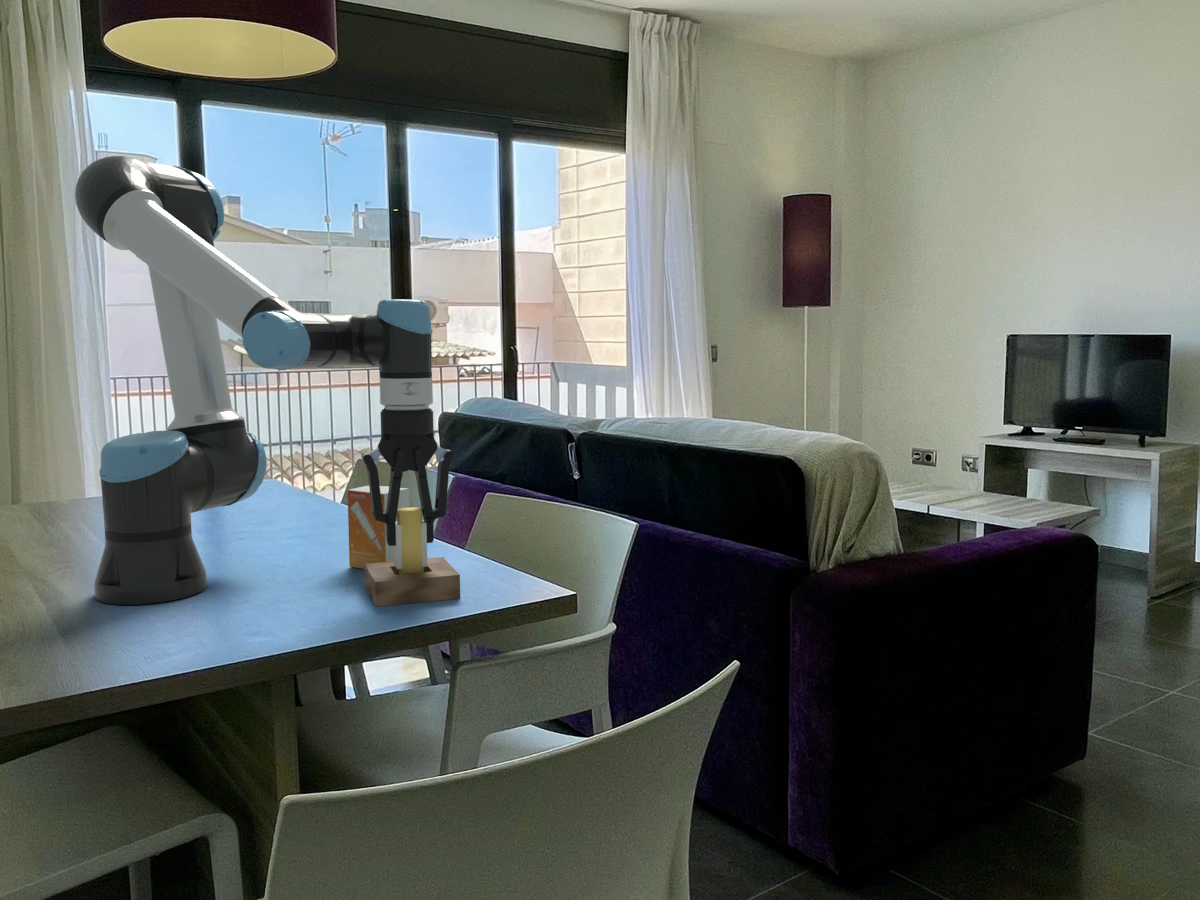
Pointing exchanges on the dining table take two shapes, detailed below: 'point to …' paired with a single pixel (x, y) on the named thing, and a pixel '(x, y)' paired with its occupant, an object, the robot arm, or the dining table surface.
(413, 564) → the peg
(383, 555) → the small box
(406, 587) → the socket block
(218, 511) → the dining table surface
